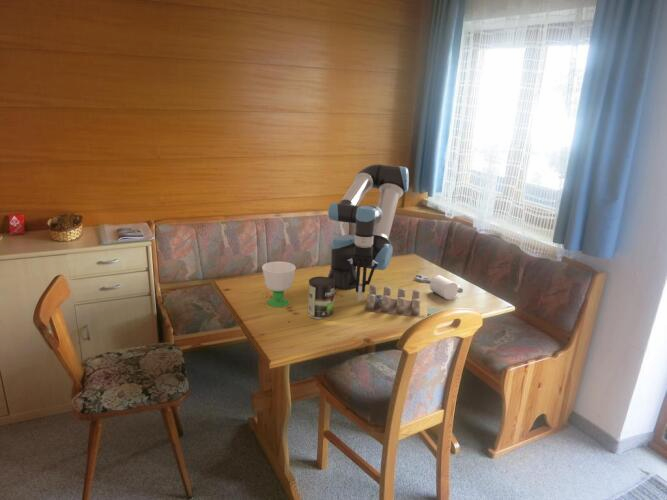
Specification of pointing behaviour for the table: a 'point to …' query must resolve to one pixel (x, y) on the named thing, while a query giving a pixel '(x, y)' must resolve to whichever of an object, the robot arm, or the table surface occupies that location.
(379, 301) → the nut
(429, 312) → the pad
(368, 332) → the table surface
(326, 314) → the coffee can
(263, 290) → the table surface
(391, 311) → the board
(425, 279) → the adjustable wrench
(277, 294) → the cup
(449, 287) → the mug
